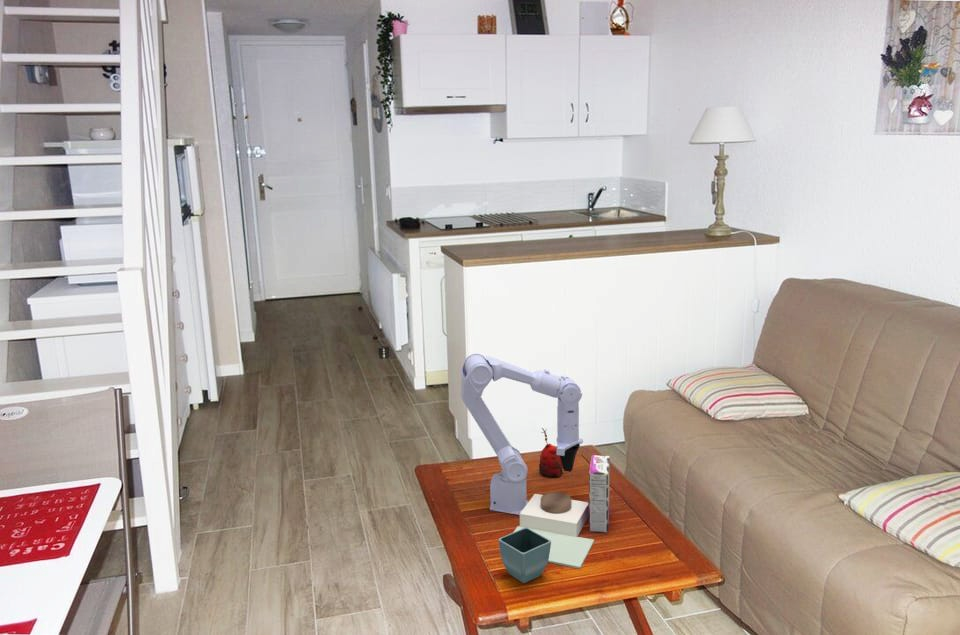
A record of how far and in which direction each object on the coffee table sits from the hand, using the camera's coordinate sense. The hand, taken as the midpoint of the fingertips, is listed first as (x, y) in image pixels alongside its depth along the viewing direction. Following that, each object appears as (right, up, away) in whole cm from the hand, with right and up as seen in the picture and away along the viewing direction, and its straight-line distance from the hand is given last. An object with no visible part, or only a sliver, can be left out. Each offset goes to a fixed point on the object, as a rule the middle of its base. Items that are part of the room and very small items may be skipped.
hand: (567, 470), depth 202 cm
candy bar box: (+7, -12, -9) cm, 16 cm away
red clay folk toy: (-3, -5, +20) cm, 21 cm away
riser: (-4, -12, -9) cm, 15 cm away
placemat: (-7, -15, -21) cm, 26 cm away
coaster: (-4, -8, -9) cm, 12 cm away
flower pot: (-14, -18, -32) cm, 39 cm away
